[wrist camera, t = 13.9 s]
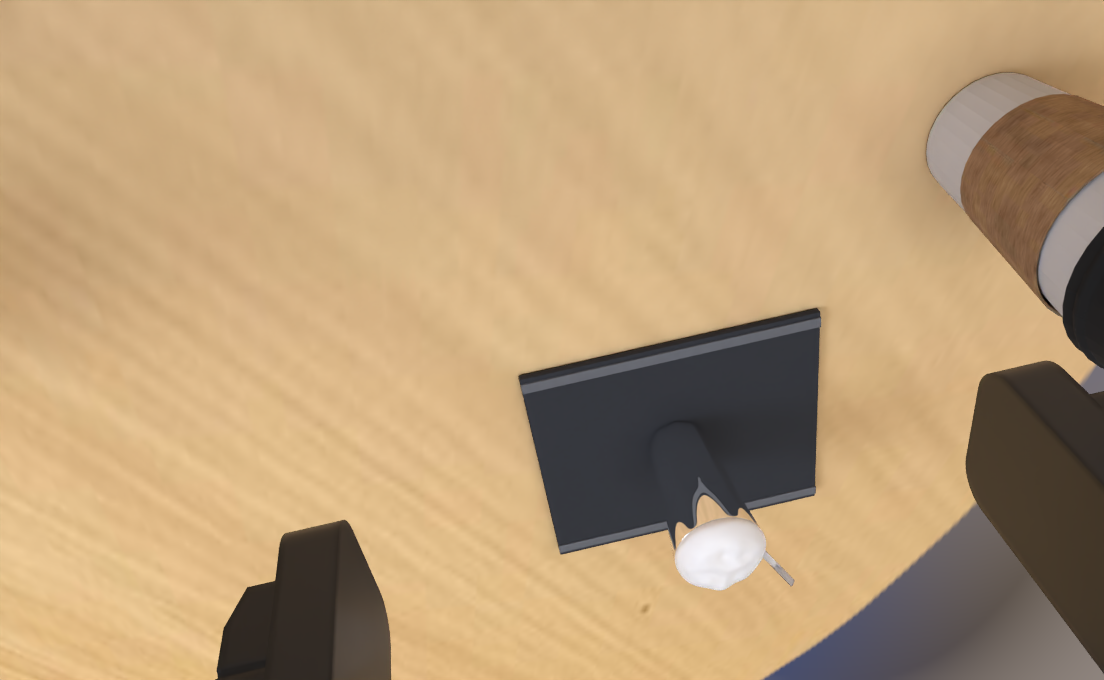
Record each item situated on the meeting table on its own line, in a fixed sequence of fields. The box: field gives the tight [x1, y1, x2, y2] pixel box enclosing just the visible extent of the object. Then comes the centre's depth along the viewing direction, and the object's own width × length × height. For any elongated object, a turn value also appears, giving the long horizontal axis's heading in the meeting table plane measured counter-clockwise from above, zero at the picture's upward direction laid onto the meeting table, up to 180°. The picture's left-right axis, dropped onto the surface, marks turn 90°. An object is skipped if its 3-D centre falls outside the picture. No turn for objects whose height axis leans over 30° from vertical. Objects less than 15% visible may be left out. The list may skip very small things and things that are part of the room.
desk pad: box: [519, 308, 821, 554], centre depth 50 cm, size 16×14×1 cm
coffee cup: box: [926, 72, 1104, 368], centre depth 35 cm, size 8×8×15 cm
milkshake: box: [649, 422, 794, 590], centre depth 46 cm, size 4×5×10 cm
